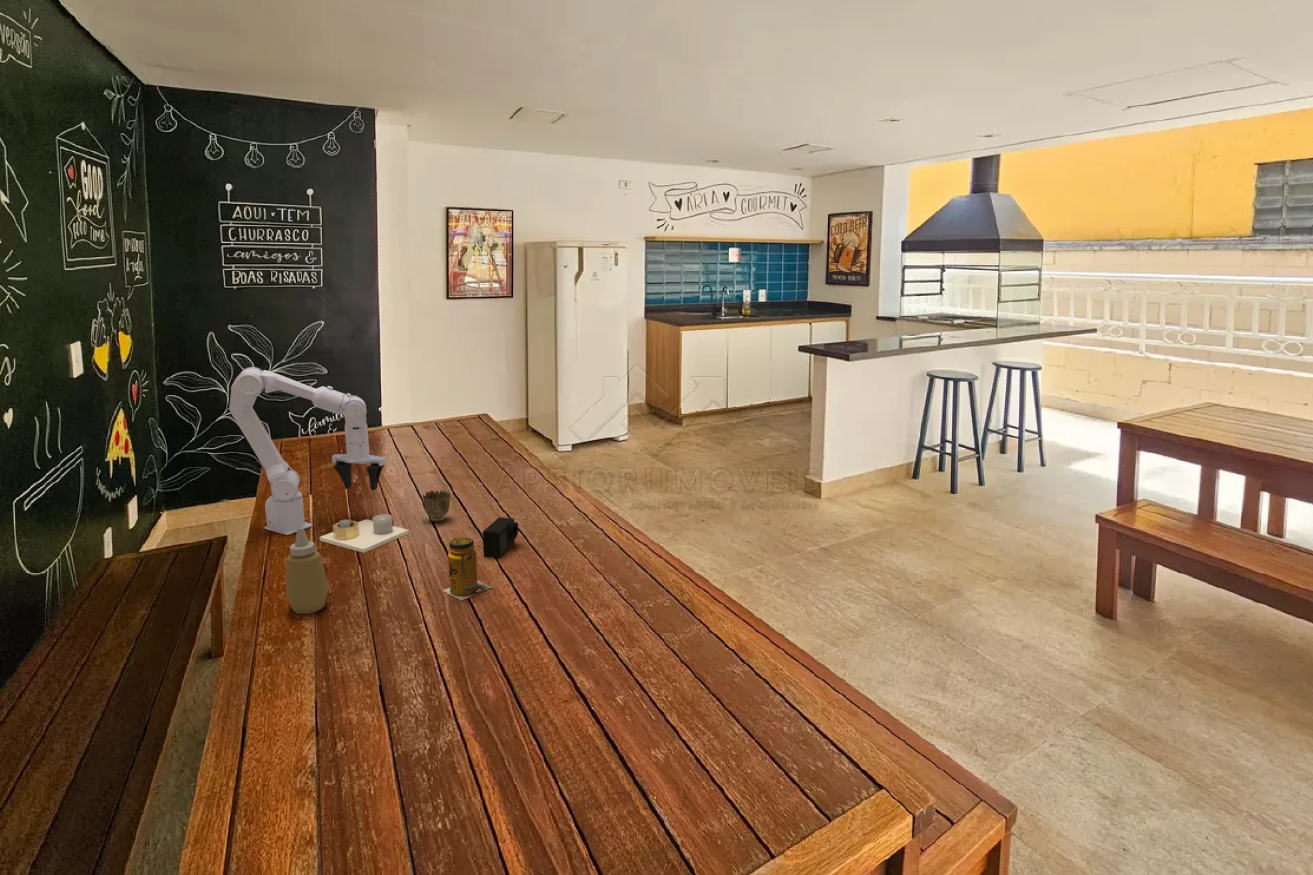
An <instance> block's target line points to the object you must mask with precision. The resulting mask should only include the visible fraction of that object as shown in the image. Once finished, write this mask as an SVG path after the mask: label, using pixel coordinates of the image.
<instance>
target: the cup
mask: <svg viewBox="0 0 1313 875" xmlns="http://www.w3.org/2000/svg"><path fill="white" fill-rule="evenodd" d="M422 500H423V505H424V509H425V510H424V511H425V513H426V514H427V515H428V516H429V517H430V520H431V522H434V523H441V522H443V521H445V516H446V515H447V514H448V512H449V510H450V503H451V502H450V501H451V492H449V491H446V490H443V489H441V490H440V491H439V490H436V491H434V490H430V491H426V492H425V495H424V494H422Z"/></svg>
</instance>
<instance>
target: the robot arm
mask: <svg viewBox="0 0 1313 875" xmlns="http://www.w3.org/2000/svg"><path fill="white" fill-rule="evenodd" d="M264 389H265V390H264ZM263 390H264V391H265V394H269V393H272V392H278V391H280V392H284V393H287V394H289V395H294V396H297V397H300V398H303V399H307V400H309V401H311V402H312V404H313V406H314V407H315V408H318V409H322V410H325V411H327V412H329V413H333V414H336V415H342V416H343V417H344V421H345V424H344V435H345V449H346V453H343V454H342V453H341V454H338V453H337V454H333V455H332V456H331V462H332V464H335V465H333V467H334V470H335V471H336V472H337V473H338V475H339V477H340V479H341V481H342V483H343V486H344V489H345V490H347V489H350V488H352V464H356V465H357V464H358V465H359V464H361V465H369V466H367V467H366V471H367V474H368V477H369V485H370V490H371V491H375V490H377V489H378V483H379V479H380V477H381V473H382V471H383V469H384V467H385V465H386V464H387V462H386V456H379V455H372V454H370V445H369V444H370V443H369V431H368V423H367V412H368V410H367V405H366V402H365V400H363V399H362V398H360V397H359V396H358V395H352V394H351V393H349V392H347V393H344V392H340V391H338V390H335V389H333V386H330V385H327V387H326V386H323V385H322V386H319V387H317V388H316V387H315V388H314V387H312V386H310V385H307V384H304V383H302V382H299V381H297V380H294V379H292V378H289V377H286V376H284V375H281V374H278V373H276V372H273V371H271V370H265V369H264V370H262V369H261V368H258V367H256V366H250V367H246V368H244V369H243V370H242V371H240V373H239V374H238V376H236V378H235V379H234V381H233V383H232V385H231V387H230V391H231V392H230V399H229V400H230V401H229V407H228V409H229V412H230V414H231V415H232V417H233V419H234V420H235V422H236V424H237V425H238V427H239V428H240V430H241V433H242V434H243V435H244V436H245V439H246V440H247V442H248V443H249V445H250V447H251V449H252V450H253V451H254V453H255V455H256V456H257V459H258V461H259V462H260V463H261V465H262V467H263V468H264V470H265V473H266V474H265V475H266V477H267V480H268V482H269V484H270V492H271V495H270V496H269V497H268V498H267V500H265V504H264V510H265V516H266V517H265V518H266V519H265V520H266V526H264V529H265V530H266V531H271V532H274V533H279V534H281V535H282V534H283V535H286V536H289V535H292V534H294V533H297V529H298V528H304V530H305V529H308V528H310V527H313V524H312V523H310V522H306V519H305V511H304V501H303V499H304V498H303V493H302V492H301V491H300V490H299V486H300V485H299V484H300V483H301V477H300V474H299V473H298V472H297V471H296V470H294V469H293V468H291V467H290V465H289V464H288V462H287V461H285V459H284V458H283V457H282V455H281V453H280V452H279V450H278V449H277V447H276V445H275V444H274V441H273V440H272V438H271V437H270V434H269V433H268V431H267V430H266V428H265V426H264V424H263V423H262V421H261V420H260V418H259V416H258V415H257V413H256V411H255V409H254V408H253V406H254V404H255V402H256V400H257V397H259V395H260V394H261V393H262V392H263Z"/></svg>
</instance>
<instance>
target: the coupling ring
mask: <svg viewBox="0 0 1313 875" xmlns="http://www.w3.org/2000/svg"><path fill="white" fill-rule="evenodd" d="M332 532H333V535H334V537H335V538H336V539H337V540H348V539H352V538H356V537H357V536H358V535H359V523H358V521H356V520H350V527H346V528H341V527H340V526H339V522H336V523H334V524H333V525H332Z"/></svg>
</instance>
